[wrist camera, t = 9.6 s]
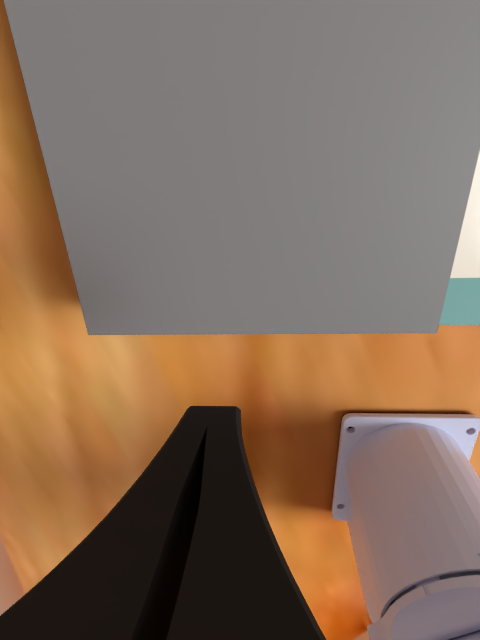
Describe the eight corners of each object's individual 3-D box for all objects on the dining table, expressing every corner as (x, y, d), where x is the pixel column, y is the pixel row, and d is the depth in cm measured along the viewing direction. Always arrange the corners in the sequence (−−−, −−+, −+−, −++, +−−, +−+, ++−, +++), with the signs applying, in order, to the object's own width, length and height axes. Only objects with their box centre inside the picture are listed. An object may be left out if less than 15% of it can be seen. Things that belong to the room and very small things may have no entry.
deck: (412, 305, 19) (437, 333, 16) (111, 308, 20) (88, 334, 17) (483, -63, 13) (541, -114, 10) (39, -30, 14) (-14, -69, 11)
